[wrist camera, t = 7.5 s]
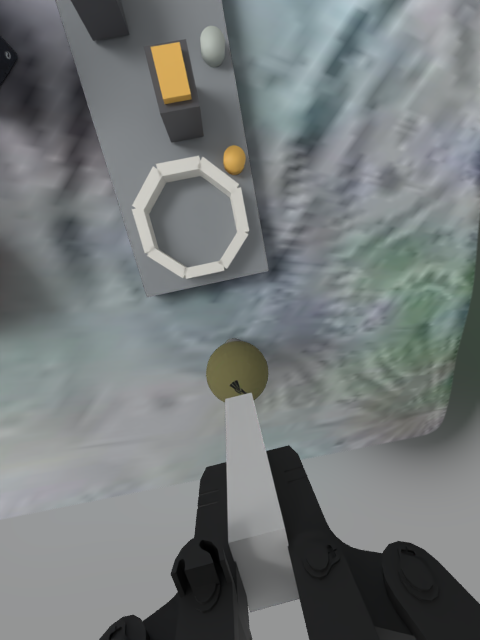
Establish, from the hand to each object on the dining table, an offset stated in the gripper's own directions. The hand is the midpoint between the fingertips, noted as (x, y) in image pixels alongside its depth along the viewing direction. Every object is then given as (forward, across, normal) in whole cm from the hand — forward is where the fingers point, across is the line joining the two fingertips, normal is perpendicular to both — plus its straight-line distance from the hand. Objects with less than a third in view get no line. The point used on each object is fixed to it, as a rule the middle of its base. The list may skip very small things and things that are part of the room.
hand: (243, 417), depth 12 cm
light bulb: (+15, 0, -1) cm, 15 cm away
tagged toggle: (+13, 0, +22) cm, 25 cm away
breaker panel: (+15, -1, +21) cm, 26 cm away
